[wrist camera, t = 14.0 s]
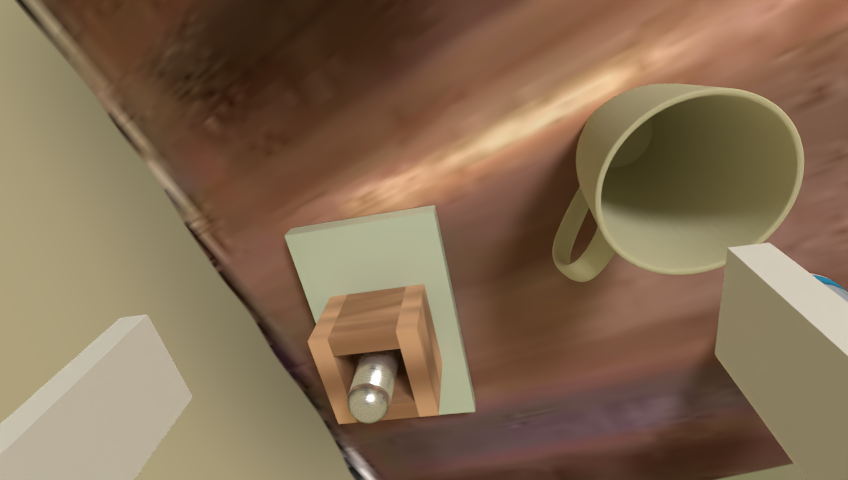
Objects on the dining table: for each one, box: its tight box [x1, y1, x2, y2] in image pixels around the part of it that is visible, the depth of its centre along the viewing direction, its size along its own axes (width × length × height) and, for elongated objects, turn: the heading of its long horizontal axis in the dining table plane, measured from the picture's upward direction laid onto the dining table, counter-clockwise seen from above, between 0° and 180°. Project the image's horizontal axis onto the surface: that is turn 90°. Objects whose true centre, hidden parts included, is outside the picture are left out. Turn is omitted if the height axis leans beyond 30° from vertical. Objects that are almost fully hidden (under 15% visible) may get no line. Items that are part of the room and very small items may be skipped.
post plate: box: [285, 205, 475, 415], centre depth 39 cm, size 20×12×2 cm, turn 12°
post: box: [347, 349, 401, 423], centre depth 34 cm, size 3×3×10 cm
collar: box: [308, 284, 443, 424], centre depth 36 cm, size 8×8×6 cm
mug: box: [552, 83, 804, 282], centre depth 27 cm, size 11×10×12 cm
